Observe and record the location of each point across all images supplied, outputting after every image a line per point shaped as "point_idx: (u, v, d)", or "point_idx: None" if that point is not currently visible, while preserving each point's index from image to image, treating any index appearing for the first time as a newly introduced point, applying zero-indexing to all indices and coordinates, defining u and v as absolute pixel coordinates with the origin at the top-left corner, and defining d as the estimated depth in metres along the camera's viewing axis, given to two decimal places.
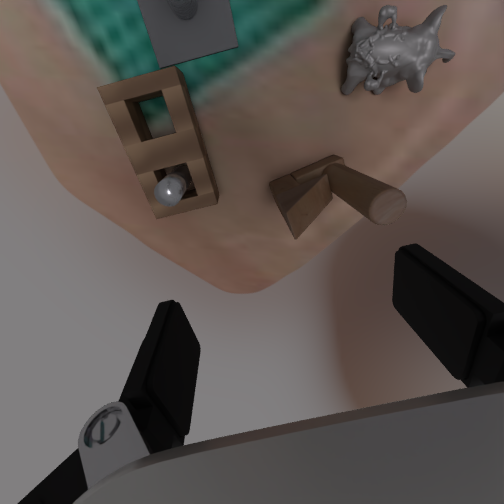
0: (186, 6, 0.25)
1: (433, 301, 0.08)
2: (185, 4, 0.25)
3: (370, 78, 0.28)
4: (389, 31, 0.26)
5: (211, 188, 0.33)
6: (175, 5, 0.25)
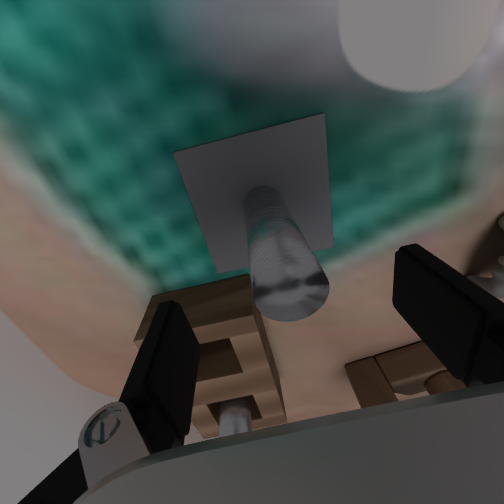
0: None
1: (433, 301, 0.08)
2: None
3: None
4: None
5: (282, 412, 0.25)
6: None
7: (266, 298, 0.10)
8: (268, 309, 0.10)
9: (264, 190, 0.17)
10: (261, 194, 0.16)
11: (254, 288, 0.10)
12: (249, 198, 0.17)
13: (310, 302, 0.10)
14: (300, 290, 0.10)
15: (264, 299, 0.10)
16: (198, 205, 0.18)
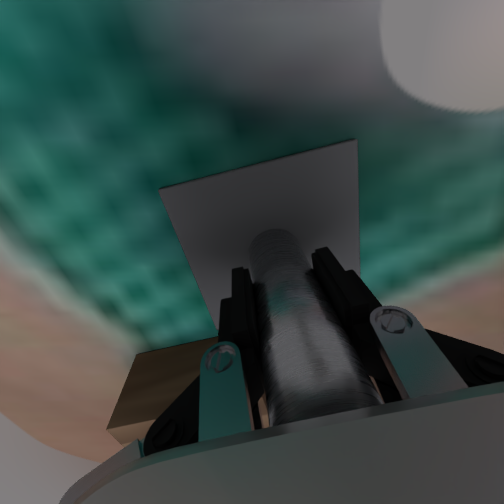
0: None
1: (329, 297, 0.09)
2: None
3: None
4: None
5: None
6: None
7: None
8: None
9: (277, 237, 0.13)
10: (274, 244, 0.12)
11: None
12: (257, 247, 0.13)
13: None
14: None
15: None
16: (191, 253, 0.14)
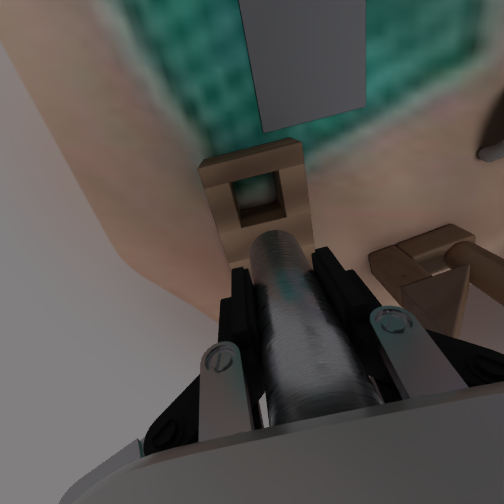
0: None
1: (329, 297, 0.09)
2: None
3: None
4: None
5: None
6: None
7: None
8: None
9: (277, 239, 0.13)
10: (275, 245, 0.12)
11: None
12: (258, 249, 0.13)
13: None
14: None
15: None
16: (253, 53, 0.21)
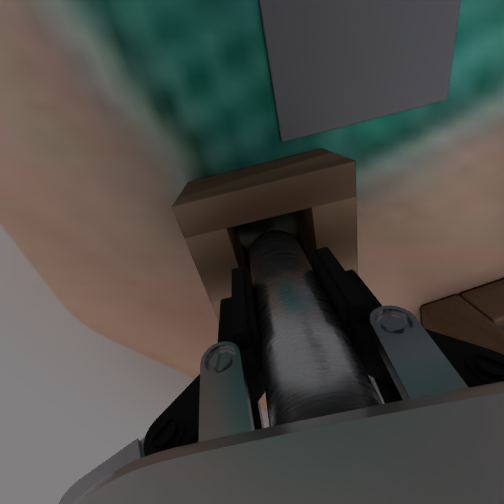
0: None
1: (329, 297, 0.09)
2: None
3: None
4: None
5: None
6: None
7: None
8: None
9: (278, 239, 0.13)
10: (274, 245, 0.12)
11: None
12: (258, 249, 0.13)
13: None
14: None
15: None
16: (269, 6, 0.12)
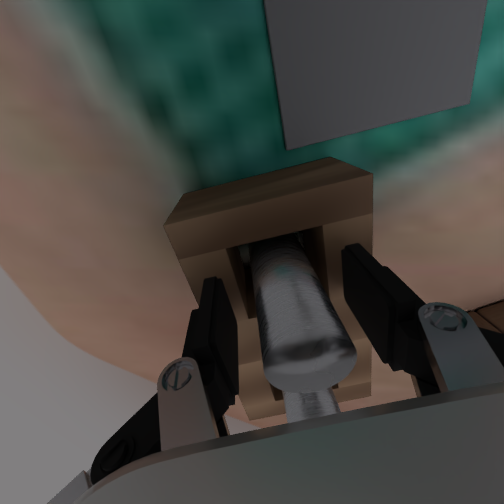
0: None
1: (365, 294, 0.09)
2: None
3: None
4: None
5: (368, 377, 0.17)
6: None
7: (279, 370, 0.08)
8: (281, 381, 0.08)
9: None
10: None
11: (264, 358, 0.08)
12: None
13: (333, 373, 0.08)
14: (321, 361, 0.08)
15: (277, 371, 0.08)
16: None
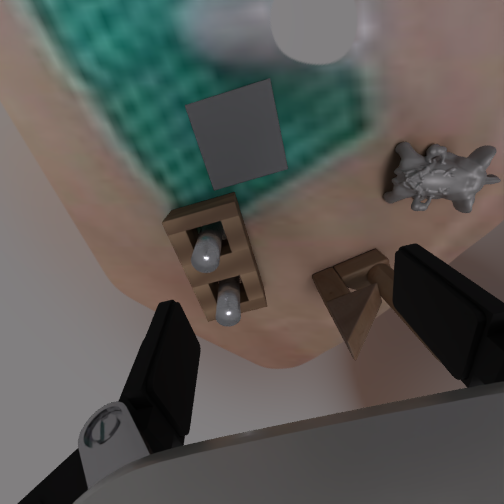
0: None
1: (433, 301, 0.08)
2: None
3: (418, 201, 0.30)
4: (438, 166, 0.28)
5: (262, 294, 0.35)
6: None
7: (196, 262, 0.26)
8: (197, 267, 0.26)
9: None
10: None
11: (191, 258, 0.26)
12: None
13: (213, 264, 0.26)
14: (208, 259, 0.26)
15: (195, 263, 0.26)
16: (200, 139, 0.30)
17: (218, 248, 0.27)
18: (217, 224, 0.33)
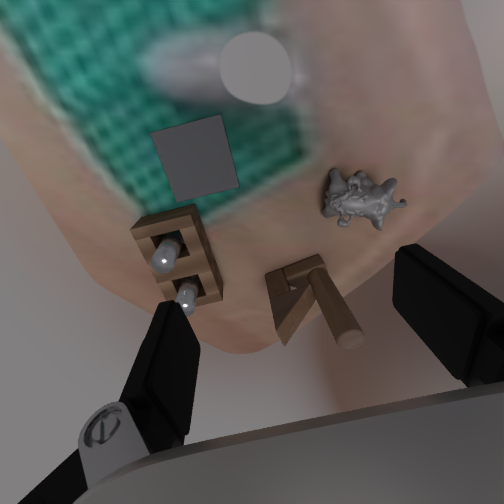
0: None
1: (433, 301, 0.08)
2: None
3: (342, 219, 0.36)
4: (355, 192, 0.34)
5: (217, 290, 0.41)
6: None
7: (154, 265, 0.33)
8: (156, 268, 0.33)
9: None
10: None
11: None
12: None
13: (169, 266, 0.33)
14: (164, 262, 0.32)
15: (154, 265, 0.33)
16: (163, 160, 0.35)
17: (174, 253, 0.34)
18: (179, 231, 0.39)
